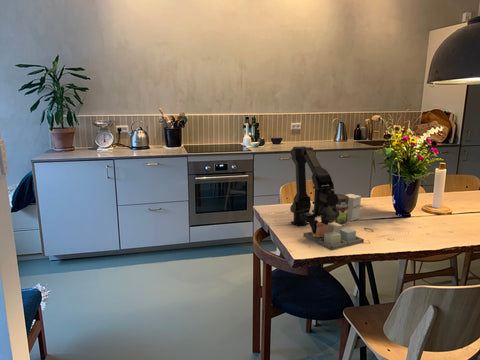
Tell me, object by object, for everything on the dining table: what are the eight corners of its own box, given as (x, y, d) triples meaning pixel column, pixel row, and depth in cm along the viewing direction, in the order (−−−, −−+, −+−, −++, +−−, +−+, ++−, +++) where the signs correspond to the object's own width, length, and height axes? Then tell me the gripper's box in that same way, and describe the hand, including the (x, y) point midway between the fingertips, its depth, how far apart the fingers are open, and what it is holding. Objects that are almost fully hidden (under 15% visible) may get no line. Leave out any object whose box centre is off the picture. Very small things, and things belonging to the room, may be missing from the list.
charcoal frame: (303, 236, 181) (303, 226, 180) (334, 229, 190) (334, 219, 189) (331, 250, 165) (331, 239, 163) (363, 242, 173) (364, 231, 172)
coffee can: (351, 224, 197) (352, 198, 194) (333, 226, 194) (334, 199, 191) (340, 218, 206) (342, 193, 203) (323, 220, 204) (324, 194, 200)
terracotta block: (311, 234, 180) (311, 223, 178) (319, 232, 182) (320, 222, 181) (318, 237, 175) (318, 227, 174) (326, 235, 178) (327, 225, 177)
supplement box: (351, 221, 202) (353, 198, 199) (339, 218, 208) (341, 195, 205) (359, 218, 207) (361, 195, 204) (348, 215, 212) (349, 193, 209)
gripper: (316, 207, 164) (314, 242, 167) (348, 201, 172) (346, 234, 176) (299, 201, 173) (298, 234, 177) (331, 196, 182) (329, 227, 185)
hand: (319, 232), depth 178 cm, fingers closed on terracotta block, 5 cm apart
